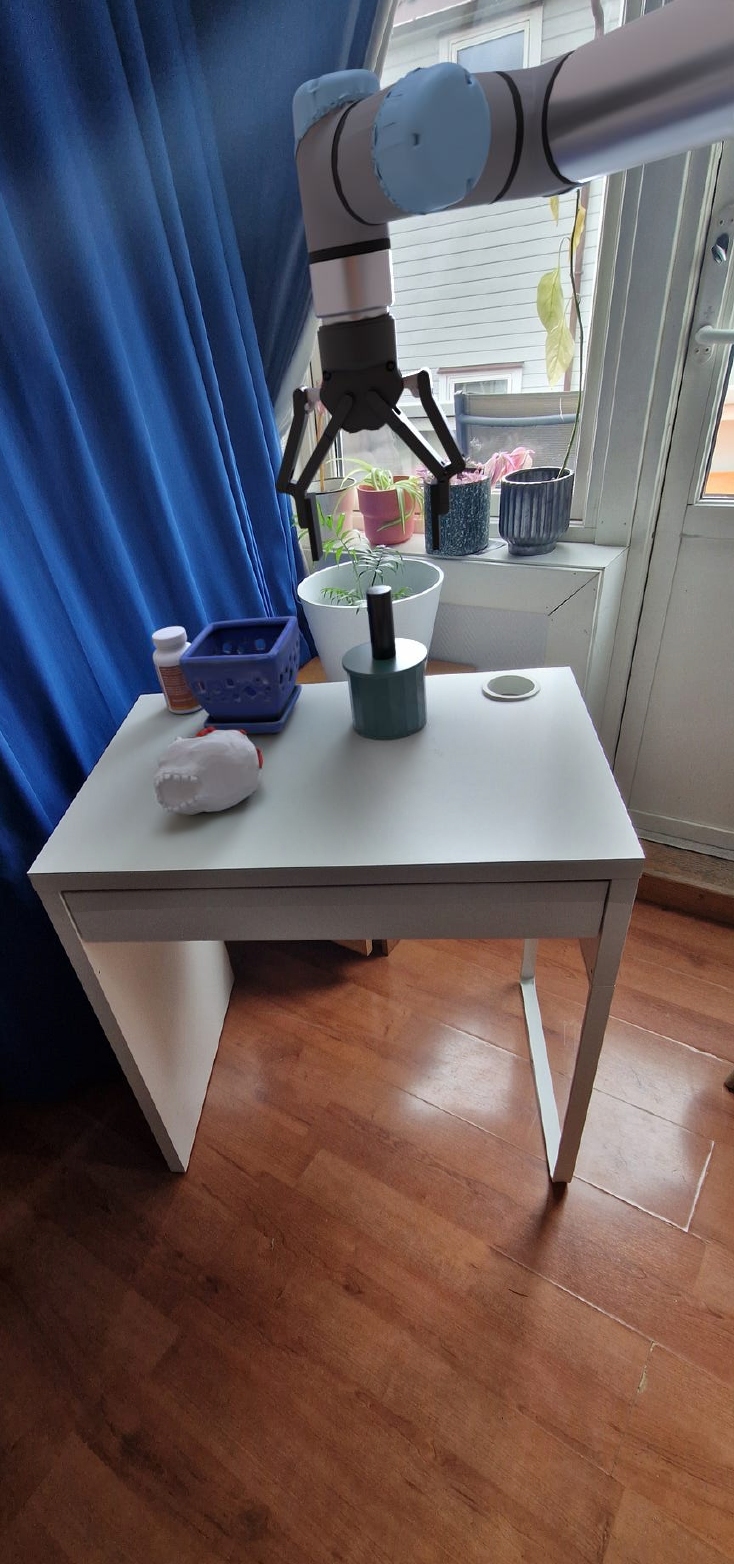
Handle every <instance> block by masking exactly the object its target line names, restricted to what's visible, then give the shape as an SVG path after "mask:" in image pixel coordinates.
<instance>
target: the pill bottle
mask: <svg viewBox="0 0 734 1564" xmlns="http://www.w3.org/2000/svg"><path fill="white" fill-rule="evenodd" d="M151 639H152V642H153V646H154V648H156V649H155V650H154V652H153V653H152V660H153V664H154V668H155V671H156V675H157V678H158V681H159V683H160V684H159V685H160V688H161V691H162V694H163V697H164V701H165V704H166V707H167V708H168V710H169V712H171V713H174V714H179V715H180V714H189V713H194V712H197V711H199V710H200V709H203V708H202V706H201V705H200V704H199V702H198V701H197V700H196V698H195V697H194V695H193V693H192V692H191V690H190V688H189V686H188V684H187V682H186V679H185V677H184V675H183V673H182V670H181V667H180V664H179V659H180V657H181V656H182V654H183V653H184V652H185V651H186V649H187V648H188V647H189V646H190V645H191V643H190V642H188V641H187V640H188V636H187V632H186V629H185V628H184V627H183V626H178V625H175V626H167V627H164V628H161V629H158V630H156V631H154V632H153V633H152V635H151ZM198 684H199V687H200V690H201V691H202V688H201V686H200V683H199V682H198Z"/></svg>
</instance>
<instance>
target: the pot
mask: <svg viewBox="0 0 734 1564" xmlns="http://www.w3.org/2000/svg"><path fill="white" fill-rule="evenodd" d="M425 663H426V662H425ZM425 663H424V664H423V665H422V666H420V667H419V668H417V669H415V670H413V671H411V672H409V673H406V674H403V675H399V676H395V677H389V678H379V679H371V678H361V677H357V676H353V675H351V674H349V673H347V672H346V679H347V686H348V694H349V703H350V710H351V720H352V724H353V728H354V730H355V732H356V733H357V734H359V735H360V736H362V737H364V738H368V739H371V740H377V741H378V740H379V741H383V740H384V741H387V740H398V739H402V738H405V737H408V736H411V735H414V734H415V733H418V731H420V730H421V729H423V728H424V727H425V725H426V724H427V719H428V705H427V685H426V666H425Z"/></svg>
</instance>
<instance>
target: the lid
mask: <svg viewBox="0 0 734 1564" xmlns="http://www.w3.org/2000/svg"><path fill="white" fill-rule="evenodd" d="M392 592H393V591H392V587H391V586H389V585H375V586H371V587H369V588H367V589H366V590H365V598H366V599H365V600H366V608H367V619H368V629H369V639H370V641H367V642H363V643H361V644H358V645H356V646H354V647H352V648H350V649H349V650H347V651H346V652H345V653H344V654H343V656H342V658H341V666H342V669H343V670H344V672H345V673H346V674H347V673H349V674H351V675H353V676H357V677H361V678H371V679H379V678H389V677H395V676H399V675H403V674H406V673H409V672H411V671H413V670H415V669H417V668H419V667H420V666H422V665H423V664H424V663H426V661H427V660H428V648H427V647H426V645H424V644H423V643H421V642H420V641H416V640H413V639H408V638H402V637H401V638H400V637H397V638H396V633H395V632H396V631H395V620H394V617H395V616H394V606H393V605H394V604H393V595H392Z"/></svg>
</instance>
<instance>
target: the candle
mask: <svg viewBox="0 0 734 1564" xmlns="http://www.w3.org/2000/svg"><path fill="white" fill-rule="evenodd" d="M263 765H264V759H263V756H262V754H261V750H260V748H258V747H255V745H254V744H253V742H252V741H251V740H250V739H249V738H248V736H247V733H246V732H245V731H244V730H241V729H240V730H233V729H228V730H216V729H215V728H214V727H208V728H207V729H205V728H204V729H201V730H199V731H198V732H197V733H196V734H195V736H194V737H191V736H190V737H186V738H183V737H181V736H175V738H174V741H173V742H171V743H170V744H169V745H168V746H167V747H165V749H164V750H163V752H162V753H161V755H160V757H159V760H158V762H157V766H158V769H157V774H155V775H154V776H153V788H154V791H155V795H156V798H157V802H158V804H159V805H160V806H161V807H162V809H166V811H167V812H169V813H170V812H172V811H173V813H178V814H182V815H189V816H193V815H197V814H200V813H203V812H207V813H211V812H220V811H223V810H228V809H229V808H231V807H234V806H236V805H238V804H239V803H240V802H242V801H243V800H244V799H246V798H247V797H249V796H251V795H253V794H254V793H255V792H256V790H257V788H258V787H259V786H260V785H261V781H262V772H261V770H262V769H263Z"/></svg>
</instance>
